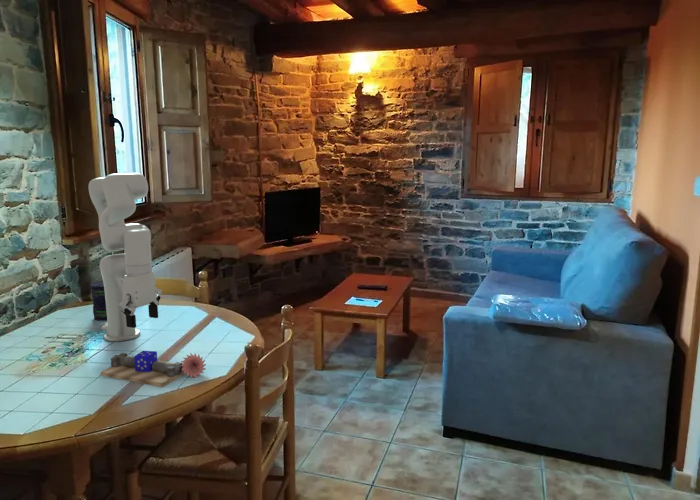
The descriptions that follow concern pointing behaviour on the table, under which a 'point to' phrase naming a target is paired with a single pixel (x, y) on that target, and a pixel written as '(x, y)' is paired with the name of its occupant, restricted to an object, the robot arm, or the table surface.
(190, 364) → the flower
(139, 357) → the die
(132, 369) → the shaft bed
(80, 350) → the table surface
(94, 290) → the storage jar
